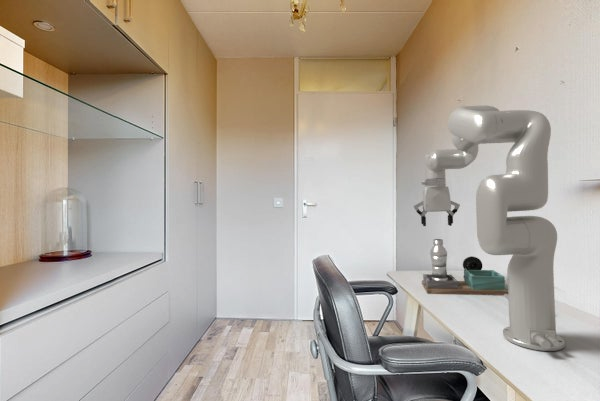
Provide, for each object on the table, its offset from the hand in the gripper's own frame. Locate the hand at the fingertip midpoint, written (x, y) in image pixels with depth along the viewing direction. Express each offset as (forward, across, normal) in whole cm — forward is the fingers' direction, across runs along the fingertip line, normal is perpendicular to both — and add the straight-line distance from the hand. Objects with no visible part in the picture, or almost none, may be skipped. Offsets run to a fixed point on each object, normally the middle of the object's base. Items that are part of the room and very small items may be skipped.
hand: (437, 225), depth 126 cm
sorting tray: (+26, +8, -1) cm, 27 cm away
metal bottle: (+26, 0, -1) cm, 26 cm away
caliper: (+26, +21, -18) cm, 38 cm away
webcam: (+26, +17, +16) cm, 35 cm away
